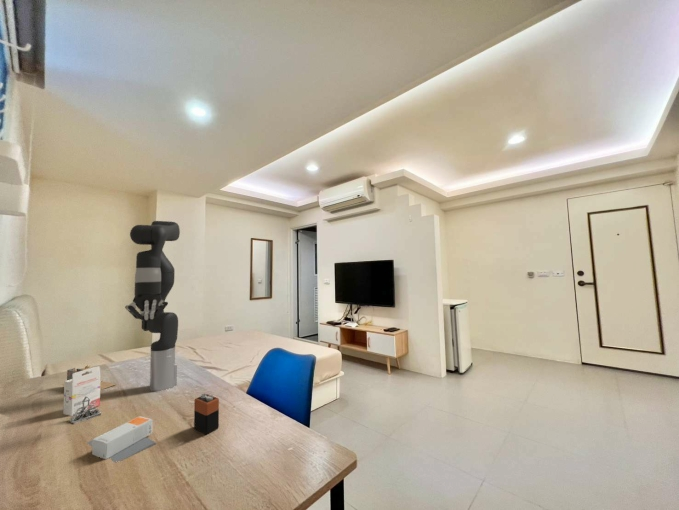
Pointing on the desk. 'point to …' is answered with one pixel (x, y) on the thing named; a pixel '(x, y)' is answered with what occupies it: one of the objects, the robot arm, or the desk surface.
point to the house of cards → (88, 413)
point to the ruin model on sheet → (71, 371)
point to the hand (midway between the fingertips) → (147, 330)
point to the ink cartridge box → (82, 390)
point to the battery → (206, 413)
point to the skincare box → (121, 437)
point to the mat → (131, 449)
